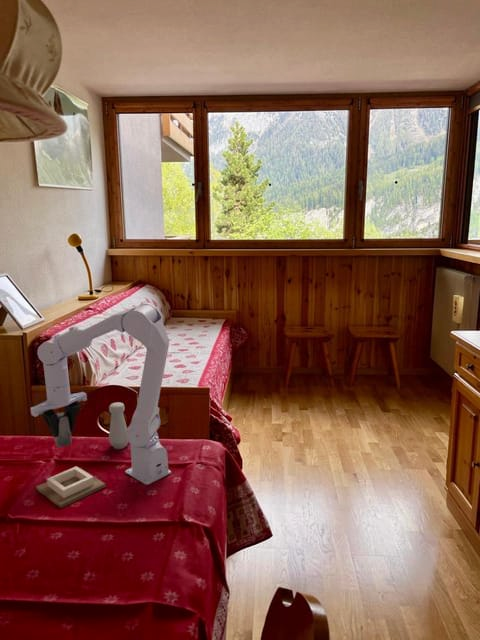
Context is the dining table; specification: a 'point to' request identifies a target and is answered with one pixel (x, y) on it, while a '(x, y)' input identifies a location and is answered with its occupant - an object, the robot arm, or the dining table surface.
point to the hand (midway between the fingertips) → (62, 433)
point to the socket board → (70, 486)
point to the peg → (63, 430)
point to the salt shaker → (117, 426)
